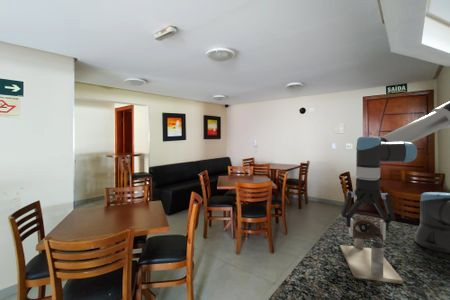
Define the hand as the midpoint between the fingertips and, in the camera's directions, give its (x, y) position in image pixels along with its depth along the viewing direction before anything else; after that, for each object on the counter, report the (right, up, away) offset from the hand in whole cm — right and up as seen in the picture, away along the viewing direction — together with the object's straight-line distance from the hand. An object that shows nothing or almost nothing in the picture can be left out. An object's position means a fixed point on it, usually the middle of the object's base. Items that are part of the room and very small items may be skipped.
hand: (366, 236), depth 82 cm
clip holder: (0, -10, 0) cm, 10 cm away
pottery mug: (0, -1, 0) cm, 1 cm away
